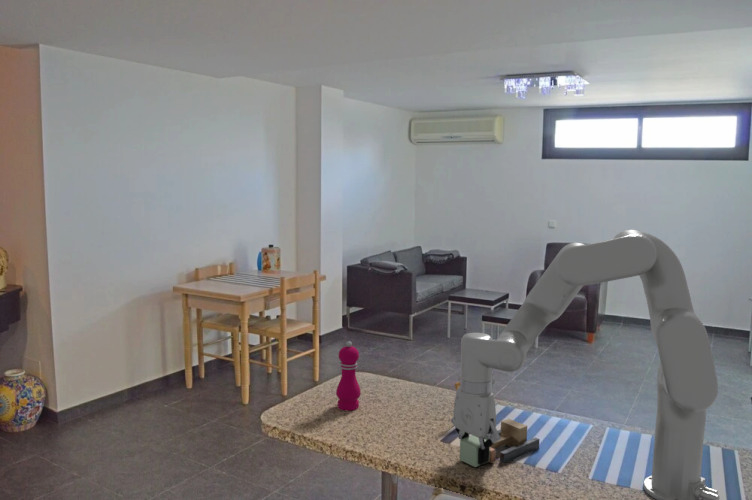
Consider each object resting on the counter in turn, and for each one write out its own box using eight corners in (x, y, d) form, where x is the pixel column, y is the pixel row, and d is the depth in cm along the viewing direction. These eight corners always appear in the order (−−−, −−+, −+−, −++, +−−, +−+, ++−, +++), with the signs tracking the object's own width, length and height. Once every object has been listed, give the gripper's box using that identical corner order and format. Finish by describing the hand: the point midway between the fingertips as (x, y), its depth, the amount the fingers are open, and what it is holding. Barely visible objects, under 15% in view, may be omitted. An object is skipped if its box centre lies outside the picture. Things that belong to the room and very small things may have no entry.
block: (489, 461, 148) (489, 441, 147) (475, 467, 145) (475, 446, 144) (473, 454, 152) (474, 434, 151) (459, 459, 149) (460, 439, 148)
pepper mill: (332, 409, 181) (333, 343, 178) (341, 401, 187) (341, 337, 185) (355, 412, 179) (356, 345, 176) (363, 404, 185) (364, 339, 183)
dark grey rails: (539, 448, 157) (539, 439, 157) (503, 463, 148) (504, 453, 148) (508, 435, 164) (508, 426, 164) (472, 449, 156) (473, 439, 155)
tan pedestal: (527, 447, 156) (528, 426, 156) (490, 463, 148) (491, 440, 147) (506, 439, 161) (507, 418, 161) (470, 453, 153) (471, 431, 152)
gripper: (439, 379, 150) (438, 450, 152) (493, 398, 137) (491, 476, 139) (460, 373, 155) (459, 442, 157) (514, 391, 142) (512, 466, 144)
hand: (474, 457), depth 148 cm, fingers closed on block, 5 cm apart
